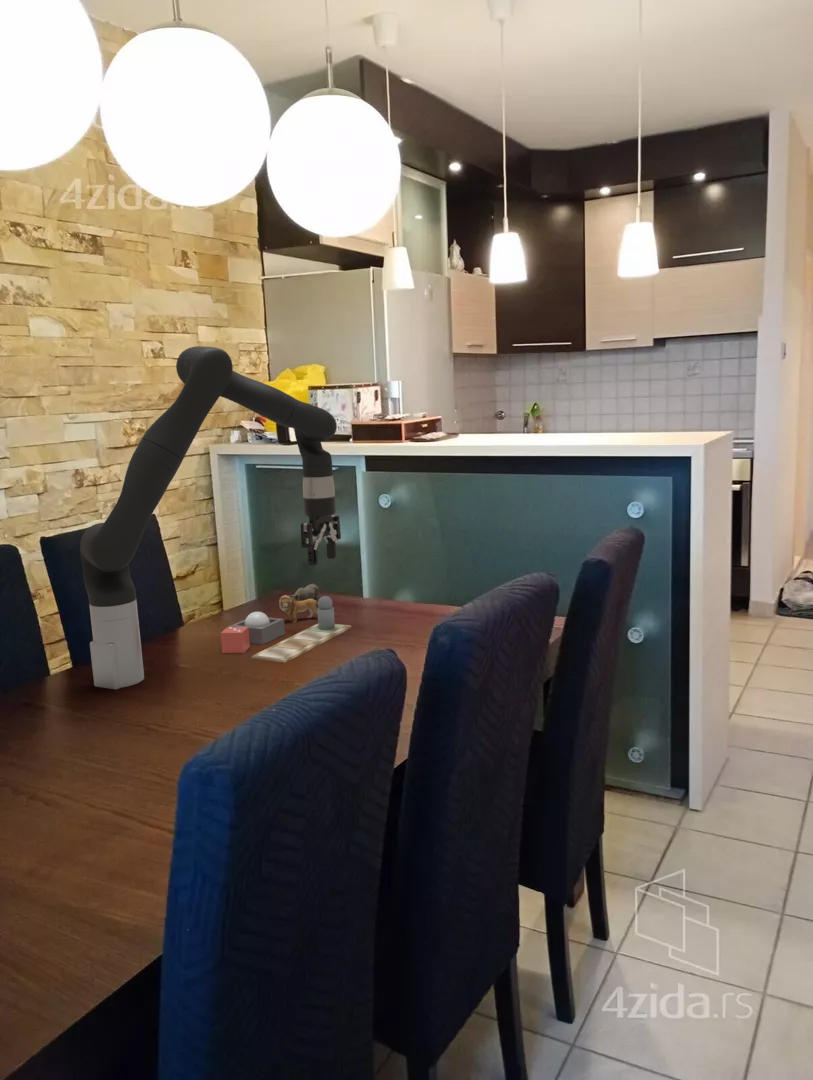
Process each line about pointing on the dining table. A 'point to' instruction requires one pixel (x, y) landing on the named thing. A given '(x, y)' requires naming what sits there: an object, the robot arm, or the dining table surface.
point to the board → (299, 643)
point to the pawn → (325, 613)
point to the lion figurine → (297, 606)
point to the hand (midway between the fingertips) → (322, 561)
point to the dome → (257, 620)
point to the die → (235, 640)
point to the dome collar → (264, 631)
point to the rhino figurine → (306, 593)
